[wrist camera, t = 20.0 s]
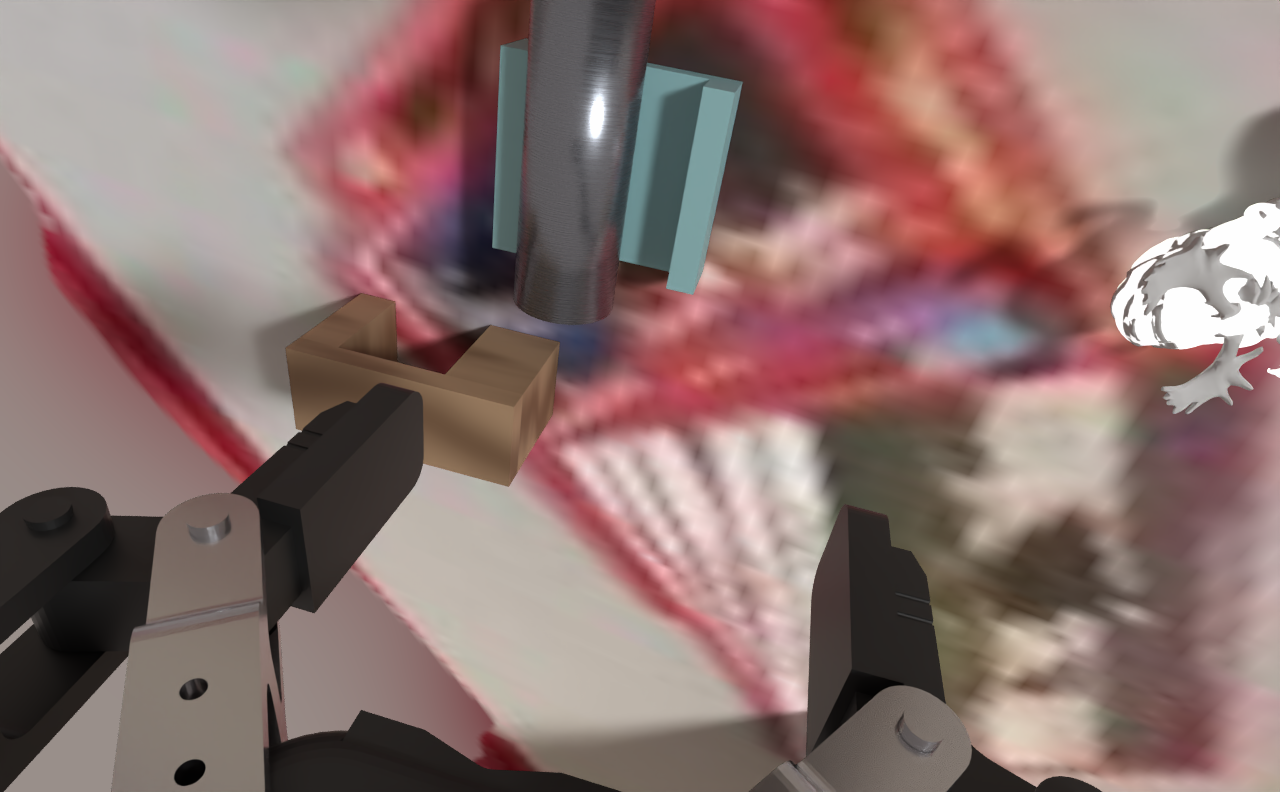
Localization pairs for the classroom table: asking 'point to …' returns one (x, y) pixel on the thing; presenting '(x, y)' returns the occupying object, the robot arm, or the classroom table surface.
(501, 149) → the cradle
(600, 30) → the axle
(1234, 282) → the figurine
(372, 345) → the brown notched block
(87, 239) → the classroom table surface
